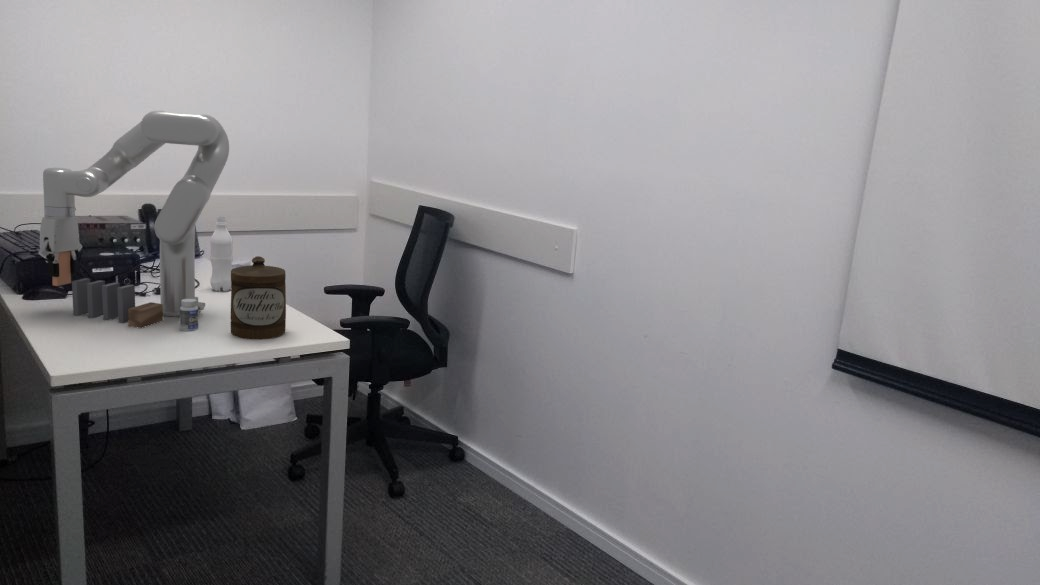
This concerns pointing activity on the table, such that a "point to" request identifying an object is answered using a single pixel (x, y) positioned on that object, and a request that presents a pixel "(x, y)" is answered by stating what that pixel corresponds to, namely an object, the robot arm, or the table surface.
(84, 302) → the domino
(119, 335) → the table surface
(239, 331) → the wooden container
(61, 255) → the domino
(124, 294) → the domino
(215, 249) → the water bottle
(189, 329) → the pill bottle
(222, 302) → the table surface
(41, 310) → the table surface
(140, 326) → the brown wooden block
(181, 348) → the table surface
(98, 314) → the domino
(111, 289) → the domino
